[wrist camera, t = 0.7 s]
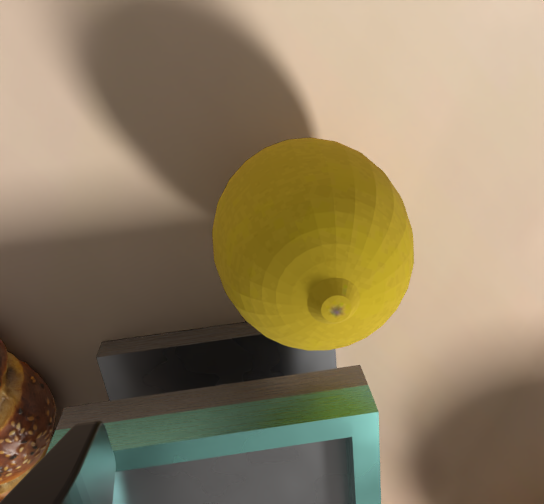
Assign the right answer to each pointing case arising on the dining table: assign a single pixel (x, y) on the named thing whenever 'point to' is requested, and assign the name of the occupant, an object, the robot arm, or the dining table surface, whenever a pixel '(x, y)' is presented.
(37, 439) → the pretzel
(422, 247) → the dining table surface
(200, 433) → the teal tray on stand
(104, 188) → the dining table surface
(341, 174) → the lemon
